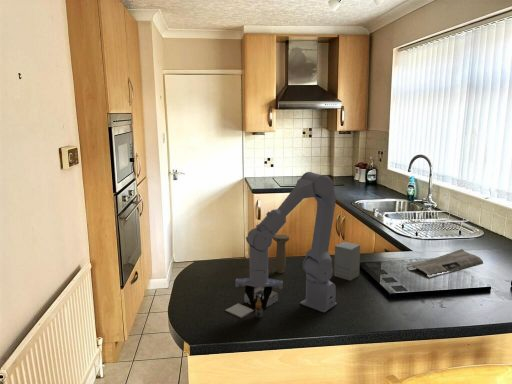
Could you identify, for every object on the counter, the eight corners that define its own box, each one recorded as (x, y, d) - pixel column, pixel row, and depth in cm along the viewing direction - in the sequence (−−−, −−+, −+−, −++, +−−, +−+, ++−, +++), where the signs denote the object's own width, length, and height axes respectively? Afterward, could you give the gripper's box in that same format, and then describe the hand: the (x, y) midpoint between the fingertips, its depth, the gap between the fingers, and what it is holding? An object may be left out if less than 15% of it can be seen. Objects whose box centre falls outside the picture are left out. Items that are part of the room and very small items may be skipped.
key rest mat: (253, 311, 126) (253, 309, 126) (241, 318, 122) (241, 316, 122) (238, 304, 131) (238, 303, 131) (225, 310, 126) (225, 309, 126)
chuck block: (277, 301, 133) (277, 292, 132) (262, 309, 127) (262, 301, 126) (259, 294, 138) (259, 286, 138) (244, 302, 132) (244, 293, 132)
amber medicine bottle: (265, 316, 123) (265, 295, 122) (259, 319, 121) (259, 298, 119) (258, 313, 125) (258, 292, 124) (252, 316, 123) (252, 295, 121)
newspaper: (428, 279, 151) (429, 271, 151) (403, 269, 162) (403, 260, 162) (484, 264, 167) (485, 256, 167) (458, 255, 178) (458, 247, 178)
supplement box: (359, 275, 154) (361, 245, 152) (350, 281, 149) (351, 249, 147) (343, 270, 159) (344, 241, 157) (333, 276, 154) (334, 245, 152)
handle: (275, 268, 162) (275, 234, 159) (290, 271, 159) (290, 235, 156) (271, 272, 157) (271, 237, 155) (286, 275, 155) (286, 239, 152)
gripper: (283, 263, 123) (282, 303, 125) (237, 261, 125) (238, 301, 127) (282, 272, 116) (281, 314, 118) (233, 270, 118) (234, 312, 120)
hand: (259, 308), depth 122 cm, fingers closed on amber medicine bottle, 3 cm apart
